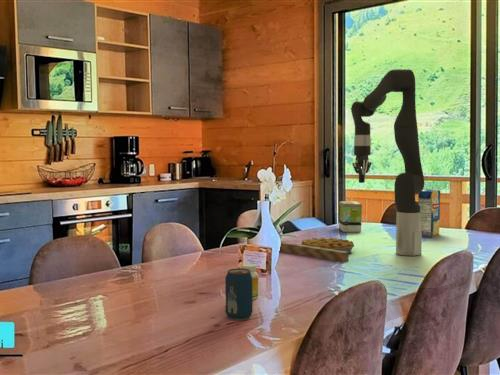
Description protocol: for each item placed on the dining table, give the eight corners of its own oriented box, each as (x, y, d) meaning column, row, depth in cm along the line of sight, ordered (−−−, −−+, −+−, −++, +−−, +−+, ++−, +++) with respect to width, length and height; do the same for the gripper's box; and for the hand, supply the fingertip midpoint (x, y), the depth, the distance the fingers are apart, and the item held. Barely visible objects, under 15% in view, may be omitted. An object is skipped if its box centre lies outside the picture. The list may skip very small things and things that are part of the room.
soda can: (252, 312, 150) (252, 267, 149) (252, 320, 143) (253, 273, 142) (225, 313, 150) (225, 267, 149) (225, 321, 143) (225, 273, 142)
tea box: (361, 232, 292) (362, 203, 291) (342, 232, 292) (342, 203, 291) (357, 228, 307) (357, 200, 306) (338, 228, 307) (338, 200, 306)
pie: (337, 245, 253) (337, 234, 253) (364, 254, 233) (364, 242, 232) (292, 249, 245) (292, 237, 245) (316, 258, 225) (316, 245, 224)
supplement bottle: (240, 300, 162) (240, 267, 161) (238, 295, 167) (238, 263, 167) (259, 300, 162) (259, 266, 162) (257, 295, 168) (257, 263, 167)
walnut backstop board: (348, 260, 218) (348, 251, 218) (343, 262, 216) (343, 252, 216) (277, 249, 243) (277, 240, 243) (272, 250, 241) (272, 241, 241)
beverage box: (417, 235, 282) (418, 190, 281) (426, 232, 291) (427, 189, 289) (430, 236, 278) (432, 191, 276) (439, 234, 286) (440, 190, 285)
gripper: (361, 144, 255) (360, 183, 257) (377, 145, 265) (376, 182, 266) (347, 144, 261) (346, 182, 262) (363, 145, 270) (362, 181, 271)
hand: (361, 182), depth 264 cm, fingers closed
